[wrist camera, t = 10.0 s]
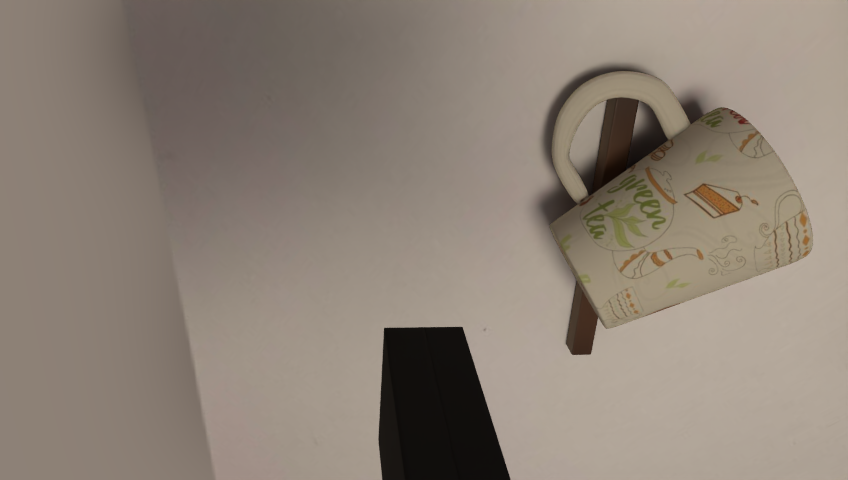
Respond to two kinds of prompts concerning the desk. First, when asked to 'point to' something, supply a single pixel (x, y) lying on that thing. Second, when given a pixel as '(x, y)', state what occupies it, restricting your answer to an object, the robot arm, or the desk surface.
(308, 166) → the desk surface
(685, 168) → the mug
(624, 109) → the strip
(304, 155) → the desk surface
